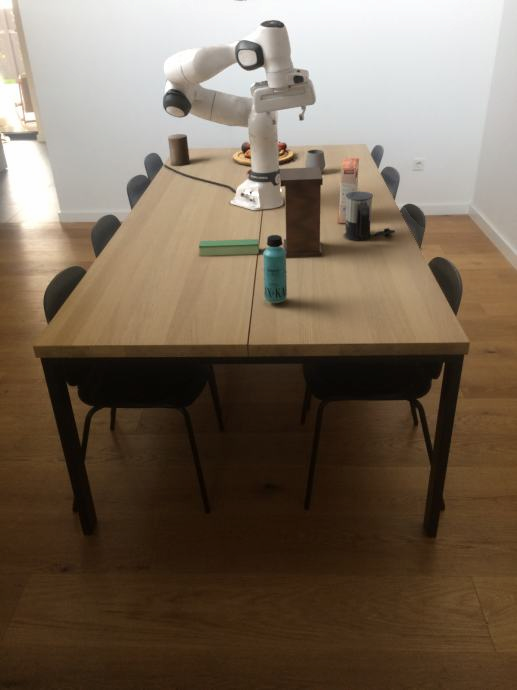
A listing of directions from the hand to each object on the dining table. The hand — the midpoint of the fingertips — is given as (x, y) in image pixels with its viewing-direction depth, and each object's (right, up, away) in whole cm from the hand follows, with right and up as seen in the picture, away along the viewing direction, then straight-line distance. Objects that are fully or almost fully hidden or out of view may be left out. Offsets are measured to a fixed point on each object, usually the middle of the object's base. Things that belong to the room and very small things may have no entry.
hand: (287, 122), depth 191 cm
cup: (+17, +8, +83) cm, 85 cm away
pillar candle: (-50, +20, +109) cm, 122 cm away
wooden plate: (-7, +23, +109) cm, 112 cm away
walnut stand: (+5, -41, +6) cm, 42 cm away
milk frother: (+29, -36, +14) cm, 48 cm away
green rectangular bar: (-20, -42, +7) cm, 47 cm away
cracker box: (+25, -25, +31) cm, 46 cm away
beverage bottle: (-5, -62, -25) cm, 67 cm away
